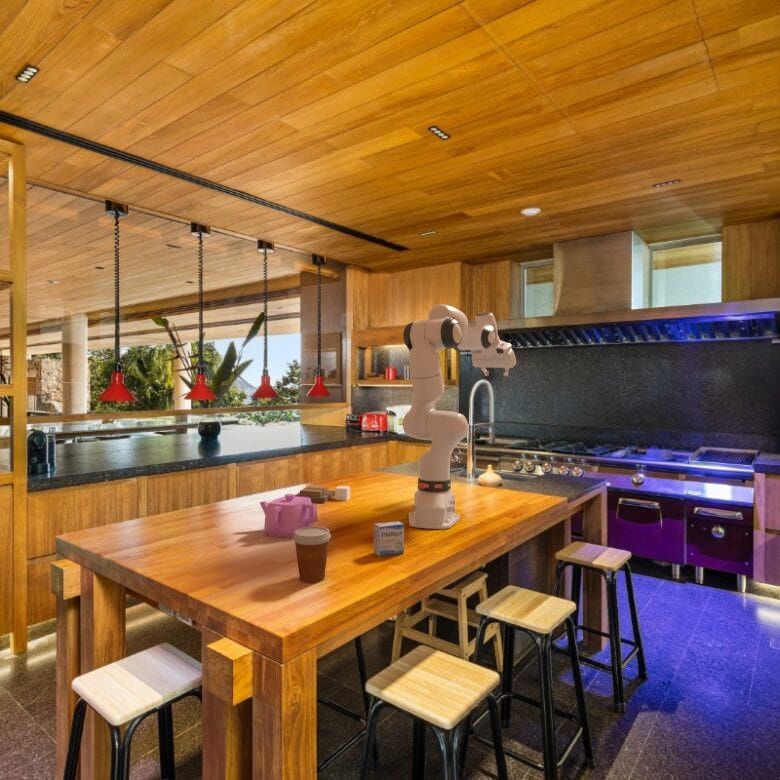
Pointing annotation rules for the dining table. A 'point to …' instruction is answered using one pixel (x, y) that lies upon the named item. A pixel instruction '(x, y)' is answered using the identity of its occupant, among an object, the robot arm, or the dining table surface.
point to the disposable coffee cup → (312, 552)
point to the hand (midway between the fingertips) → (496, 375)
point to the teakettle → (288, 515)
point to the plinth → (319, 499)
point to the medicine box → (388, 538)
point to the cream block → (342, 493)
